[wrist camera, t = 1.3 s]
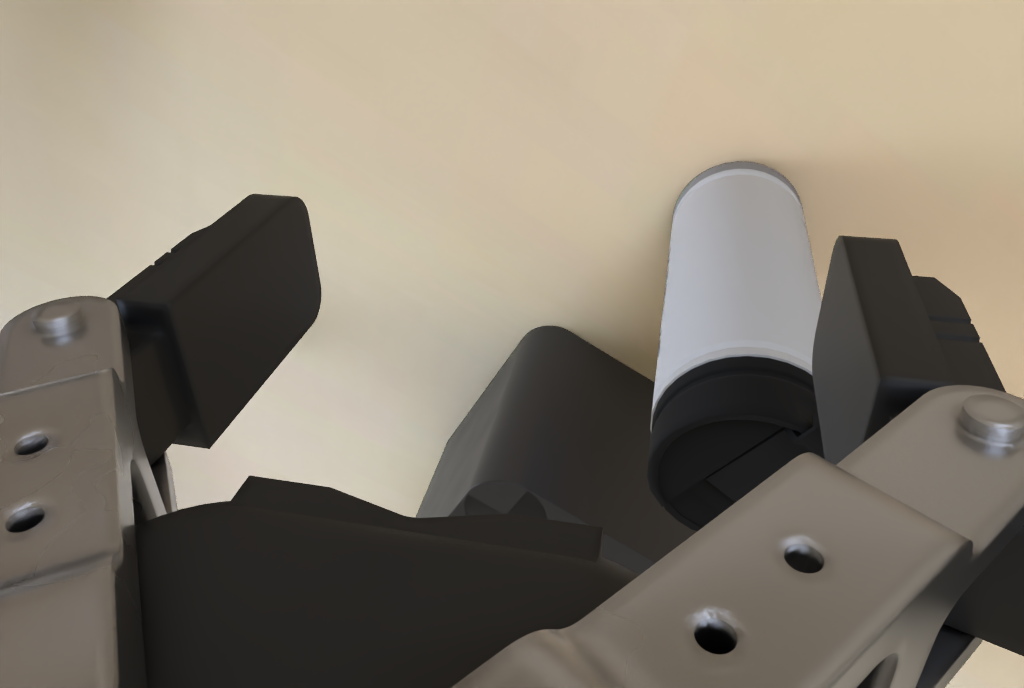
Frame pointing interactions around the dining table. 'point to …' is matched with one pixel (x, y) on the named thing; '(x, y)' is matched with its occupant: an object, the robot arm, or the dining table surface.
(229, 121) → the dining table surface
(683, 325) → the travel mug
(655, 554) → the bin
